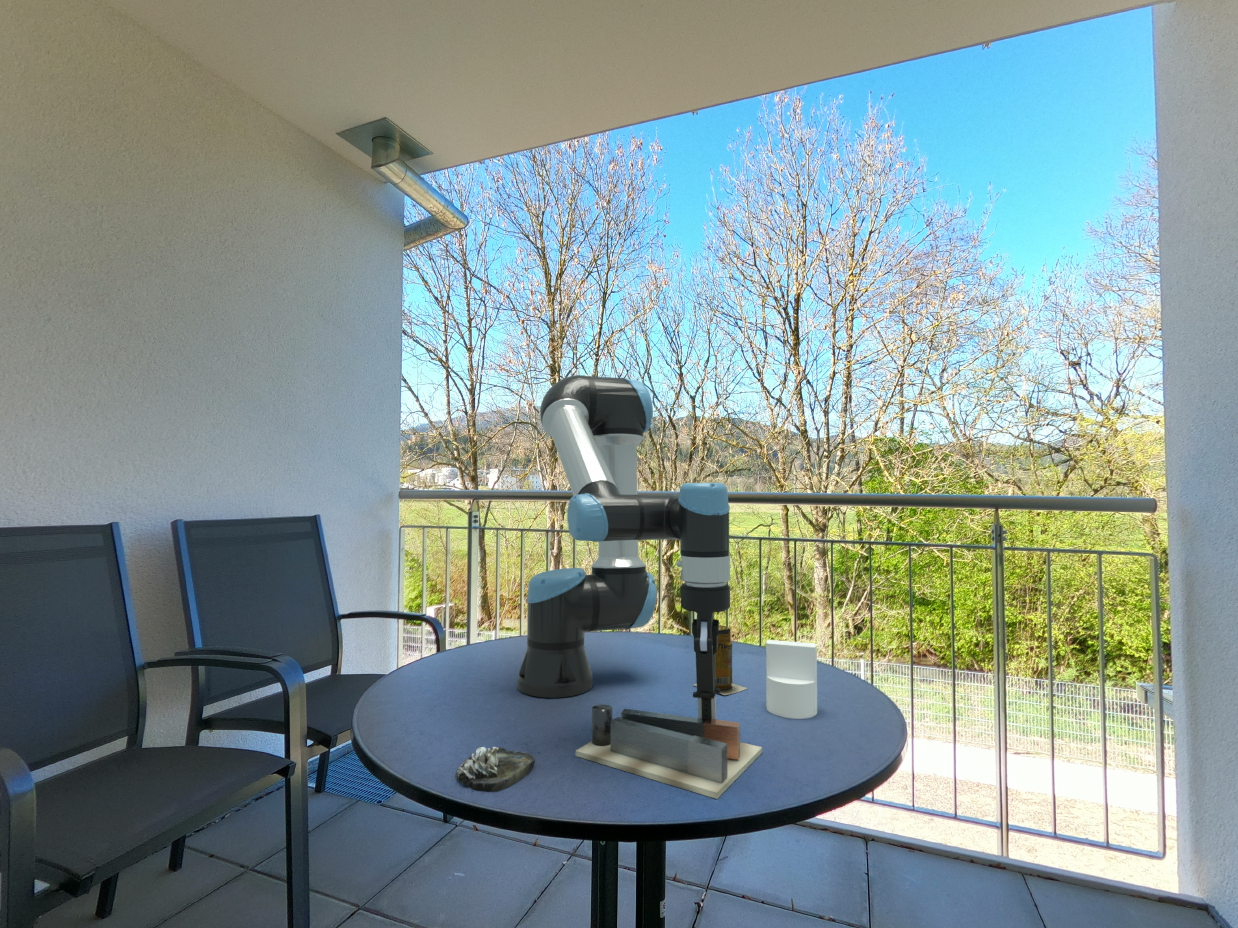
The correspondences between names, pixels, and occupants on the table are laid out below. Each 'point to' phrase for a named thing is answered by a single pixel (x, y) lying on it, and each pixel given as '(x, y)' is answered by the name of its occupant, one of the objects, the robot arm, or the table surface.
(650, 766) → the board
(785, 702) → the base with upright slab
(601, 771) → the table surface
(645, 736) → the tongs fixed
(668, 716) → the tong arm
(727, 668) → the condiment
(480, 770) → the log
